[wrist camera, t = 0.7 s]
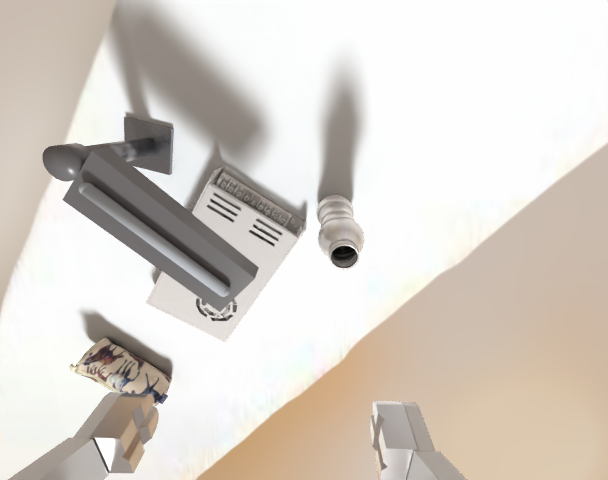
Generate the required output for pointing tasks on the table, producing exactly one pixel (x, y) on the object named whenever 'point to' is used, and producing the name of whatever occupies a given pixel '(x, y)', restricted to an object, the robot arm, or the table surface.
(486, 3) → the table surface
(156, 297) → the power supply unit
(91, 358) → the pencil case
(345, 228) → the plastic bottle
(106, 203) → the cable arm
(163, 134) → the post
